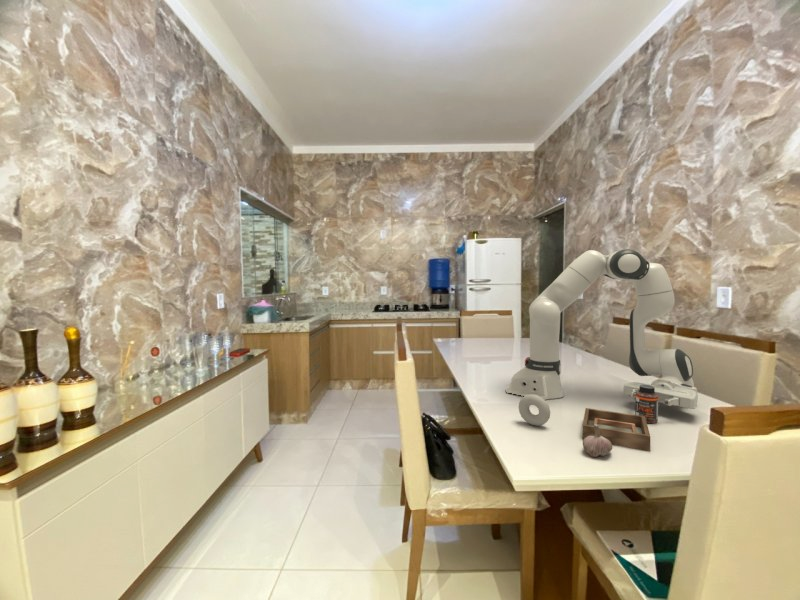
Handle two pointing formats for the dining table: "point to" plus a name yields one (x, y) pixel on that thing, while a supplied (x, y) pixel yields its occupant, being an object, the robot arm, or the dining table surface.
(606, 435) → the walled box
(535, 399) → the donut
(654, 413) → the supplement bottle
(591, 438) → the garlic bulb
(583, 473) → the dining table surface
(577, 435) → the dining table surface
